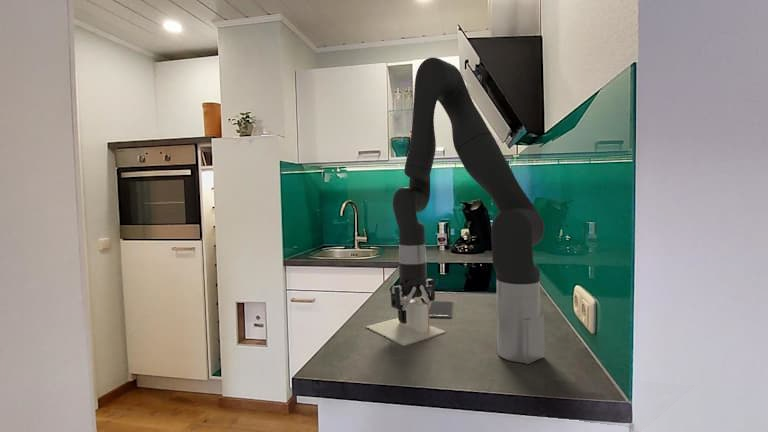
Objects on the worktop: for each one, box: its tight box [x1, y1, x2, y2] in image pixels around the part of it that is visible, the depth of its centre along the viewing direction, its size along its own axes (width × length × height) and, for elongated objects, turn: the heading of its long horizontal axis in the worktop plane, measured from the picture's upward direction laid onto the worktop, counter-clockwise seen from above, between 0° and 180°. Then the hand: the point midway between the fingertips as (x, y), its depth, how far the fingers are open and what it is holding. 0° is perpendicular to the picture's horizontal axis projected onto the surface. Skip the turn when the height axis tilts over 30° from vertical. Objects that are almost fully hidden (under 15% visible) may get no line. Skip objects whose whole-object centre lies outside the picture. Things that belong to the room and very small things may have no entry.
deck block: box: [399, 296, 430, 333], centre depth 110 cm, size 10×2×7 cm, turn 35°
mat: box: [365, 317, 446, 347], centre depth 109 cm, size 17×14×1 cm
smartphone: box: [429, 300, 454, 319], centre depth 126 cm, size 7×1×16 cm
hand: (414, 319), depth 110 cm, fingers open, 7 cm apart
